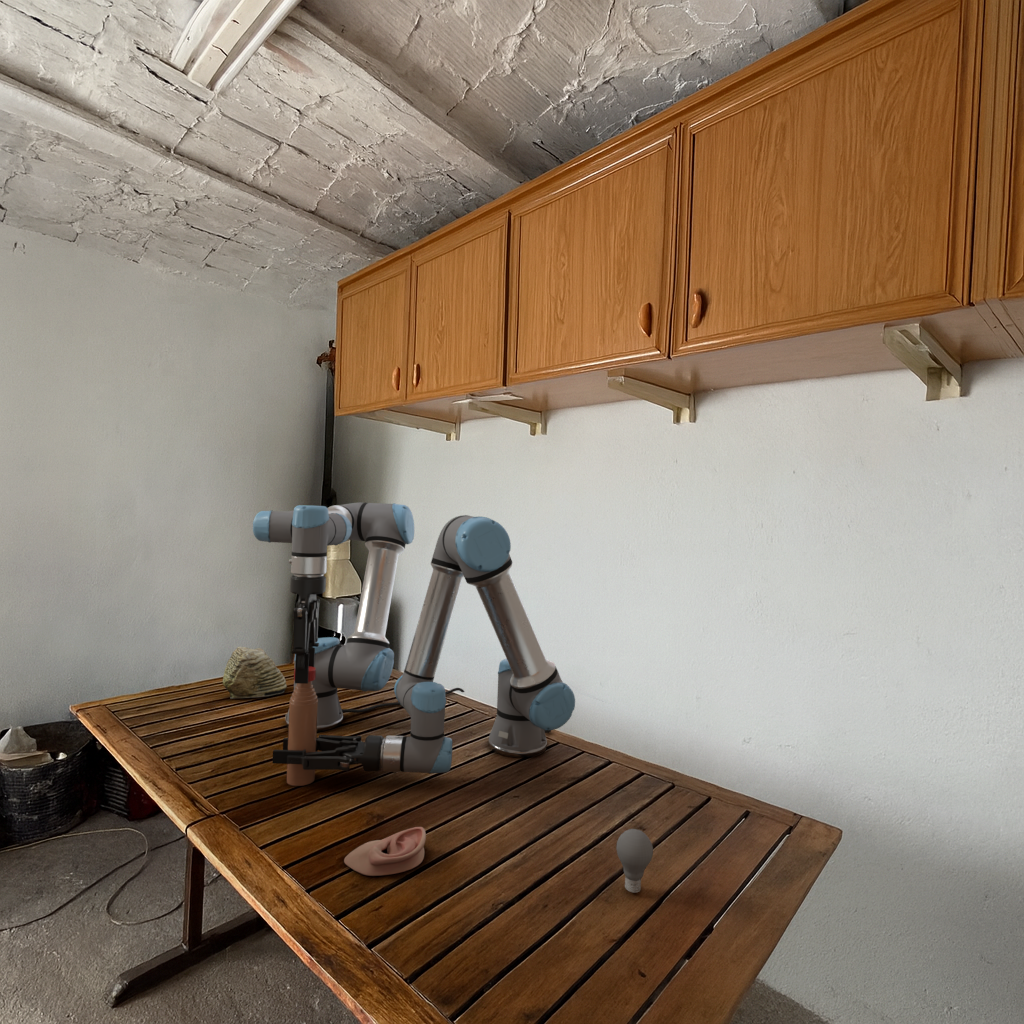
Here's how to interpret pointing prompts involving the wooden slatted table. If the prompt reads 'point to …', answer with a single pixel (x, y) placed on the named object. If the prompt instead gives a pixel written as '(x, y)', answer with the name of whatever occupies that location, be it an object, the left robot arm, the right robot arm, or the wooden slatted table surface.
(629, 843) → the light bulb
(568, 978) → the wooden slatted table surface
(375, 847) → the anatomical model
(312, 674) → the cap
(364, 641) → the left robot arm
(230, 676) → the fossil
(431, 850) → the wooden slatted table surface
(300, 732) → the bottle
